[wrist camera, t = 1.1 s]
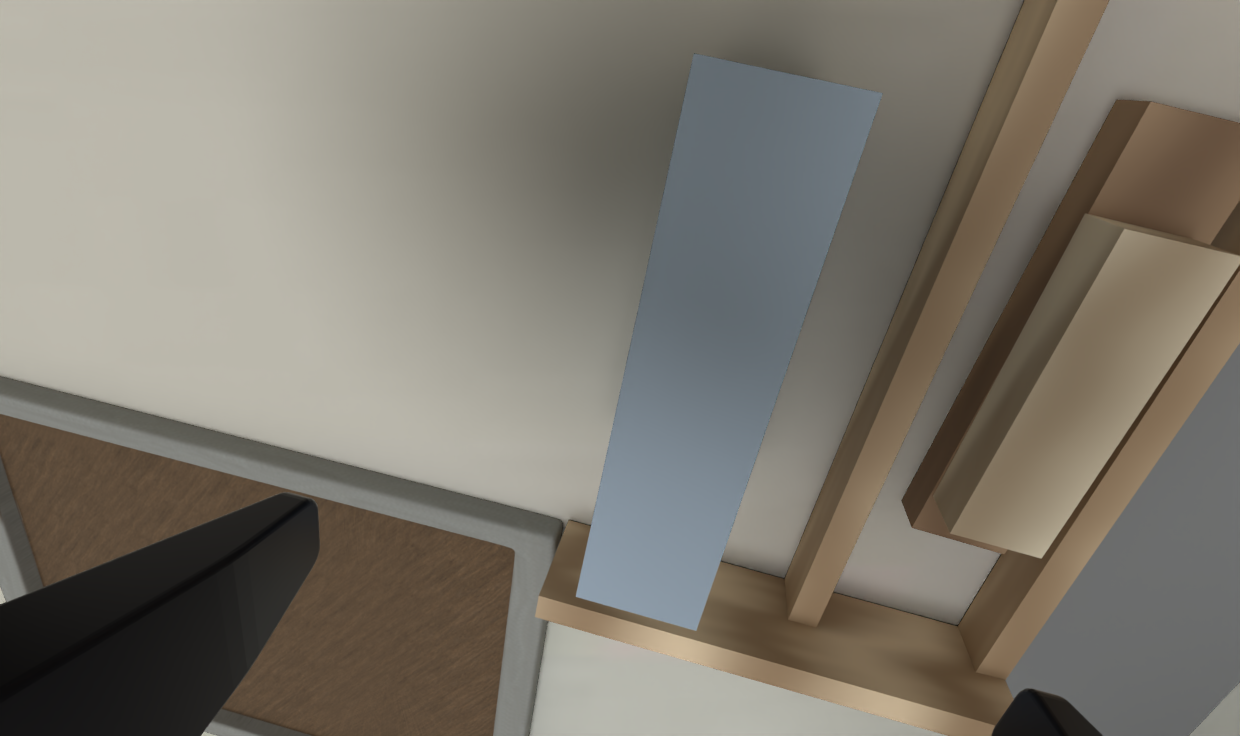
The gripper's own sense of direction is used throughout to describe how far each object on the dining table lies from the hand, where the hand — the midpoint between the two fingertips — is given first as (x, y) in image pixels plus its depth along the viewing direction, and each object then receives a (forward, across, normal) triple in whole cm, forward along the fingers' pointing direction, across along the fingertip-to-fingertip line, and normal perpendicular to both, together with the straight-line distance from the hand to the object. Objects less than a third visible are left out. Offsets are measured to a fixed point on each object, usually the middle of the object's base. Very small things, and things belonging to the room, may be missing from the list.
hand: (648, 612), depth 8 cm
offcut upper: (+12, -10, 0) cm, 15 cm away
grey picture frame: (+14, +18, +20) cm, 30 cm away
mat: (+13, -18, +6) cm, 23 cm away
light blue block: (+13, 0, 0) cm, 13 cm away
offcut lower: (+14, -10, -1) cm, 17 cm away
